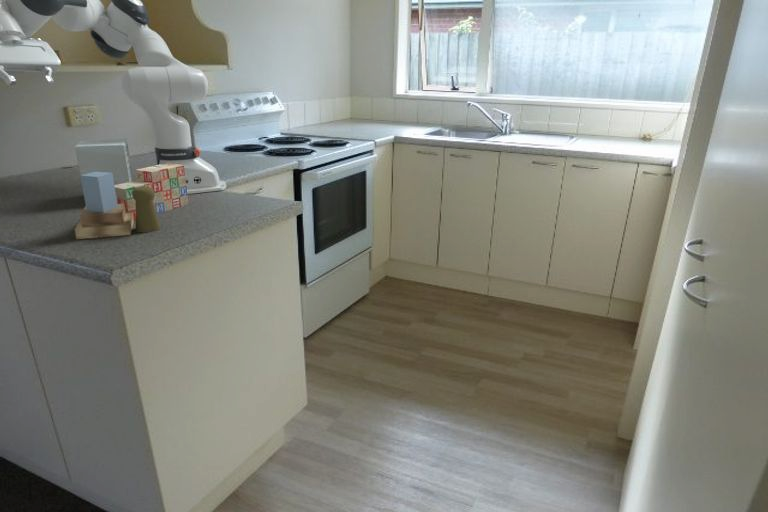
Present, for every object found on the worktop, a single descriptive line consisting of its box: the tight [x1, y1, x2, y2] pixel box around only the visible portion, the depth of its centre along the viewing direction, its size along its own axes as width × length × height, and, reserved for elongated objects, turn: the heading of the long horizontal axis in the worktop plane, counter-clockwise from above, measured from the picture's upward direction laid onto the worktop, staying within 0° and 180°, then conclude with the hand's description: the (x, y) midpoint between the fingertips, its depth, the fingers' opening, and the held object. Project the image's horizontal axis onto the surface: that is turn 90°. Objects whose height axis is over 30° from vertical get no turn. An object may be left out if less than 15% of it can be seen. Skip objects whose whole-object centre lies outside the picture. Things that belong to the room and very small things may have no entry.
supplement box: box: [74, 138, 134, 205], centre depth 161 cm, size 13×13×18 cm
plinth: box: [74, 204, 135, 240], centre depth 133 cm, size 12×12×6 cm
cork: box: [132, 187, 162, 233], centre depth 134 cm, size 6×6×11 cm
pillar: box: [79, 172, 118, 213], centre depth 131 cm, size 5×5×9 cm
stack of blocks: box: [114, 164, 189, 221], centre depth 149 cm, size 21×6×12 cm, turn 154°
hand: (31, 84), depth 133 cm, fingers open, 8 cm apart
